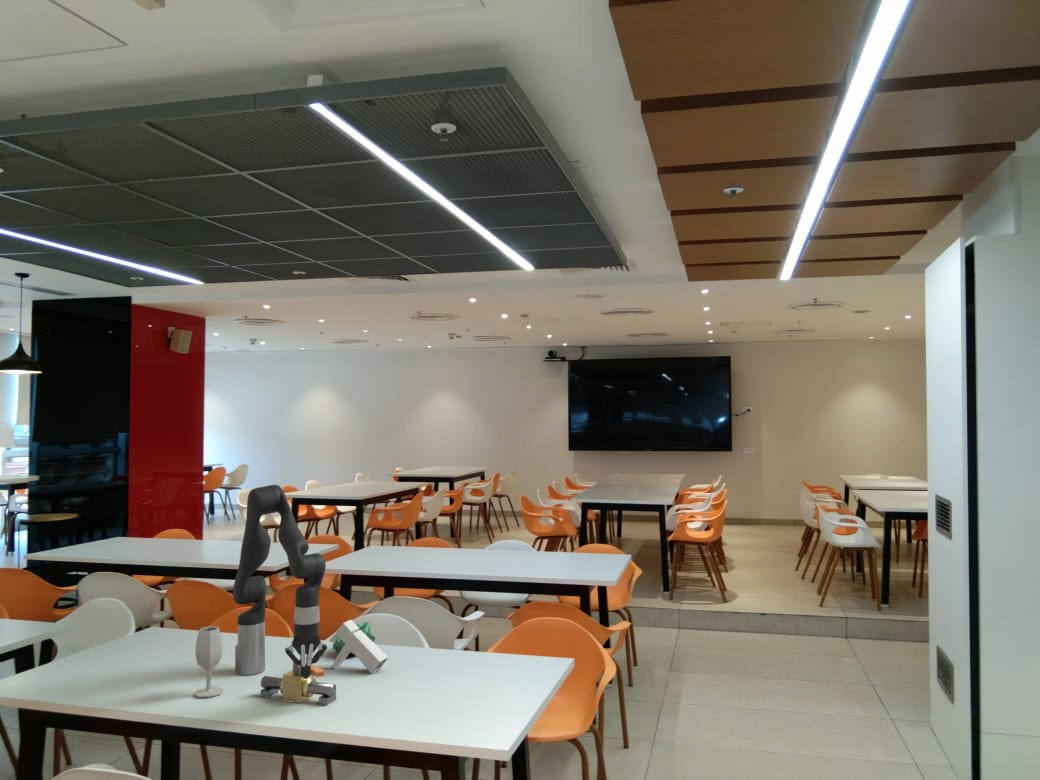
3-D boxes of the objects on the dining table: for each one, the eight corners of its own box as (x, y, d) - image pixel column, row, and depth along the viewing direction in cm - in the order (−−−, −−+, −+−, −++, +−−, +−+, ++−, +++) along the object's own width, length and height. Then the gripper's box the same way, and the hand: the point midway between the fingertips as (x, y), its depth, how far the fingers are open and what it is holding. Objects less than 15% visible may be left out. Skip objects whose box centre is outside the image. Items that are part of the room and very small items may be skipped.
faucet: (379, 661, 260) (342, 621, 266) (355, 695, 263) (318, 654, 269) (389, 656, 266) (352, 617, 272) (364, 689, 269) (328, 649, 275)
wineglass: (195, 700, 238) (195, 633, 239) (193, 692, 246) (193, 627, 247) (224, 695, 242) (224, 630, 243) (221, 687, 250) (221, 623, 251)
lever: (291, 672, 239) (290, 660, 239) (300, 669, 241) (300, 658, 241) (316, 684, 227) (316, 672, 227) (325, 682, 229) (325, 670, 229)
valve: (258, 697, 240) (258, 672, 240) (270, 691, 246) (270, 666, 246) (327, 706, 231) (327, 680, 232) (338, 699, 237) (338, 674, 237)
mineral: (337, 646, 296) (337, 621, 296) (377, 644, 297) (377, 619, 298) (330, 661, 277) (330, 633, 278) (373, 658, 279) (373, 631, 279)
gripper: (285, 625, 223) (284, 684, 222) (330, 621, 229) (329, 678, 228) (282, 619, 230) (281, 676, 229) (326, 615, 235) (325, 671, 235)
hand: (305, 677), depth 228 cm, fingers closed
